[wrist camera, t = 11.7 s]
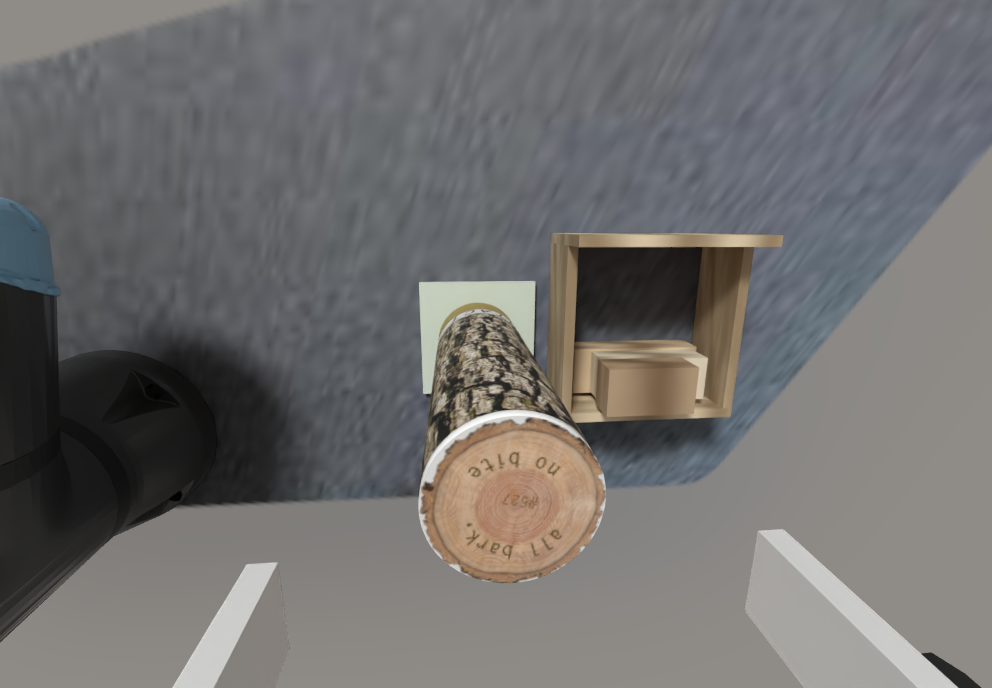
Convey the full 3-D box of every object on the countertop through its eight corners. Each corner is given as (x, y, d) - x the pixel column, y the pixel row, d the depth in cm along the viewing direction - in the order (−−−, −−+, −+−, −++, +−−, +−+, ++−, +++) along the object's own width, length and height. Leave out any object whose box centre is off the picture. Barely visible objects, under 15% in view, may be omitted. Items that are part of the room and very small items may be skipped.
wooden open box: (546, 396, 43) (569, 439, 34) (551, 233, 39) (579, 234, 31) (694, 392, 44) (753, 432, 36) (712, 233, 41) (783, 235, 32)
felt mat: (423, 391, 42) (423, 393, 41) (419, 282, 39) (418, 282, 39) (531, 388, 43) (532, 390, 42) (534, 281, 40) (535, 281, 40)
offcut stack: (565, 382, 43) (591, 418, 35) (566, 341, 42) (594, 369, 34) (676, 379, 44) (727, 413, 36) (681, 339, 43) (734, 365, 35)
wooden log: (504, 382, 42) (577, 594, 18) (431, 367, 41) (400, 570, 17) (523, 310, 40) (630, 434, 16) (447, 293, 39) (439, 397, 15)
